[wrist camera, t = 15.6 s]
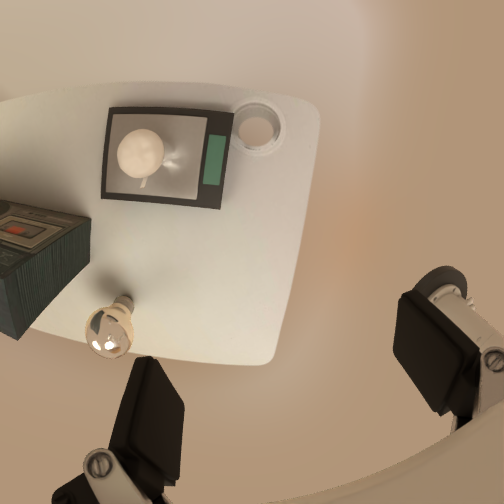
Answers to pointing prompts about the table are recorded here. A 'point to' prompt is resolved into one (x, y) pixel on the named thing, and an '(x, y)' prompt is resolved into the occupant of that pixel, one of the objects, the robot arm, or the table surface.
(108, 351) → the light bulb
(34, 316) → the cassette player
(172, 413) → the robot arm
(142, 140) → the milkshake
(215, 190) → the scale
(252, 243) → the table surface
